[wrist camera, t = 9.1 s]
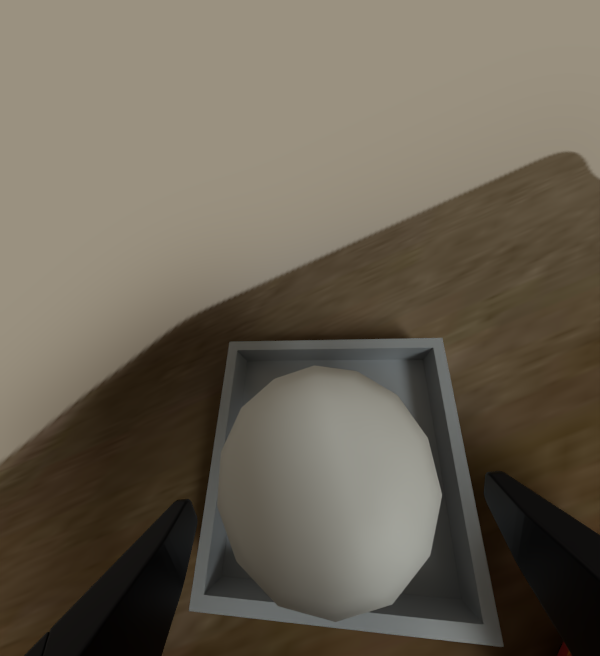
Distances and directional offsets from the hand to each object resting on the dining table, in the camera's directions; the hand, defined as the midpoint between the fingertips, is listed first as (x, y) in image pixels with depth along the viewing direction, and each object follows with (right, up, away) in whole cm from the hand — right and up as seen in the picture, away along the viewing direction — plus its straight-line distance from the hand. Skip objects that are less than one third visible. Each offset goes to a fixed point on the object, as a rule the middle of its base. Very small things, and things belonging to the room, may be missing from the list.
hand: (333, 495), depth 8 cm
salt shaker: (+1, -3, +8) cm, 9 cm away
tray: (+1, -3, +9) cm, 9 cm away
